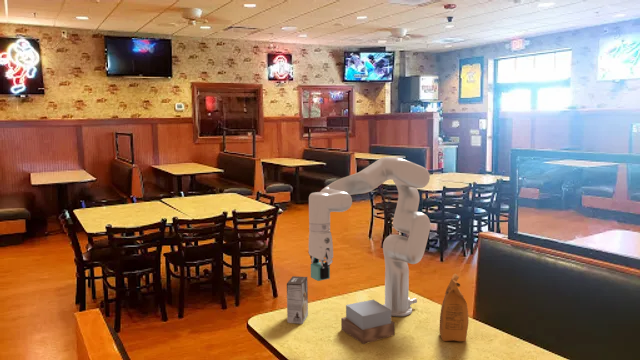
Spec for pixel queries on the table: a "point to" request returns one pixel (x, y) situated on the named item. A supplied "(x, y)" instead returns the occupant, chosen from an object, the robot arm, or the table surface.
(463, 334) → the coffee package
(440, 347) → the table surface
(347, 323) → the tower base
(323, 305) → the table surface
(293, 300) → the coffee box
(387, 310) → the tower top
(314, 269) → the teal block
